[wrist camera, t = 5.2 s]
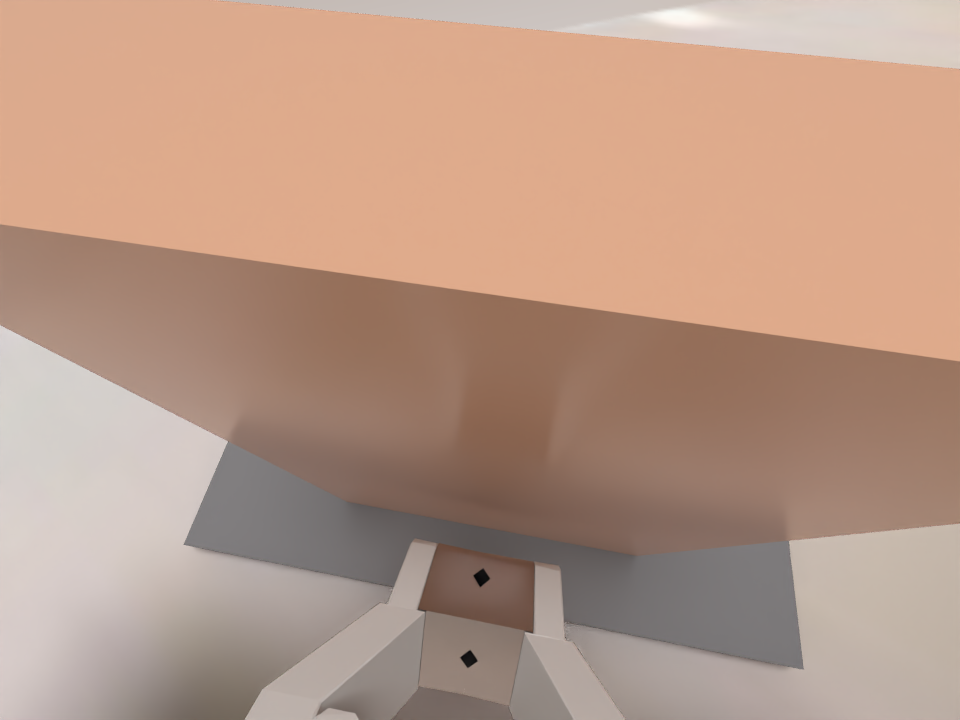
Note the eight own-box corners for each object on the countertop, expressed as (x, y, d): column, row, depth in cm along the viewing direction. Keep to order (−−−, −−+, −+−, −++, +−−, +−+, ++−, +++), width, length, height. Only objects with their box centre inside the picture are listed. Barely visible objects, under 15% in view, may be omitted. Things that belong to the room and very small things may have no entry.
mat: (737, 186, 23) (745, 173, 22) (787, 664, 14) (803, 669, 13) (365, 142, 24) (362, 129, 24) (197, 545, 16) (183, 544, 15)
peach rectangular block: (638, 474, 16) (1266, 79, 3) (636, 555, 15) (1624, 456, 2) (368, 428, 17) (-2, -33, 4) (347, 502, 15) (-276, 185, 3)
